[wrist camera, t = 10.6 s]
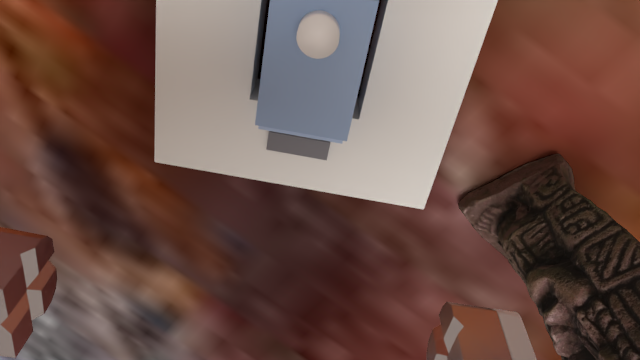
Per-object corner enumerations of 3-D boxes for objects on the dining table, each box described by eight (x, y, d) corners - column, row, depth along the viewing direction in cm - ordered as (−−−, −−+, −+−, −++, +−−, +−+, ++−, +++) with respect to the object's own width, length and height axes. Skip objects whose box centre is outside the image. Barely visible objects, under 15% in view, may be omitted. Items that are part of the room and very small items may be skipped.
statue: (451, 198, 31) (571, 644, 14) (568, 126, 28) (894, 576, 11) (514, 269, 33) (679, 715, 16) (627, 209, 30) (963, 676, 14)
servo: (343, 114, 28) (341, 174, 23) (267, 101, 28) (248, 158, 23) (380, -57, 23) (387, -27, 19) (290, -75, 23) (273, -49, 18)
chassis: (418, 183, 30) (424, 211, 28) (168, 138, 29) (153, 164, 27) (529, -147, 21) (550, -144, 19) (177, -223, 21) (156, -229, 18)
